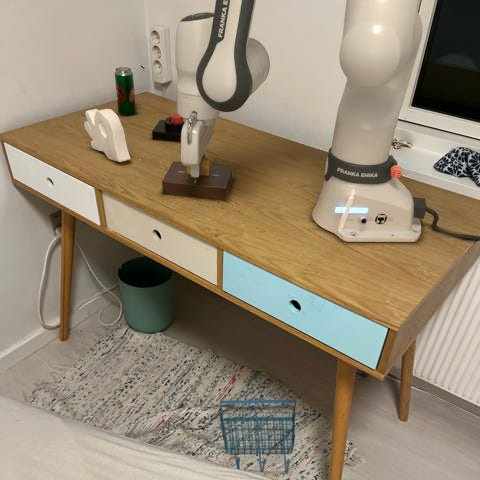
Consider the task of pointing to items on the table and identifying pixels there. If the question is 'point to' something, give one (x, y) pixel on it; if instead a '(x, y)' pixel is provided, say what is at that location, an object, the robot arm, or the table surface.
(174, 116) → the lock button
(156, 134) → the button base
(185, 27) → the robot arm
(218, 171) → the lock plate
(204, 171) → the lock turn
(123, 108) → the soda can
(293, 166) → the table surface
